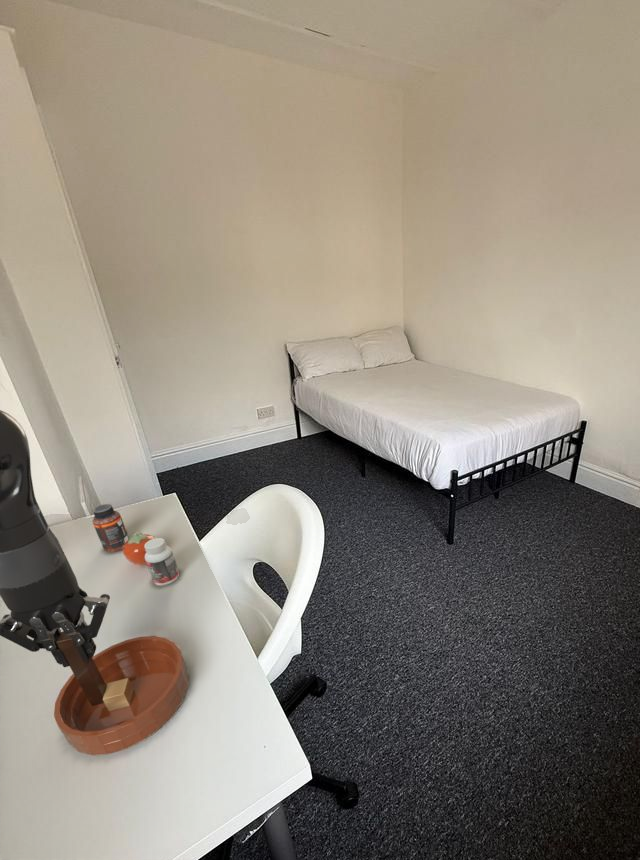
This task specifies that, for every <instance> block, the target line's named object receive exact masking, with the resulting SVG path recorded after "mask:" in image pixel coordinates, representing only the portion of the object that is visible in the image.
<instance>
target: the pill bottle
mask: <svg viewBox="0 0 640 860" xmlns="http://www.w3.org/2000/svg"><path fill="white" fill-rule="evenodd" d="M144 547H145V551H146V554H145V561H146V563H147V564H146V565H147V568H148V571H149V573H150V576H151V579H152V581H153V583H154V584H155V585H156V586H168V585H169V584H172V583H173V582H175V581H176V580H177V579H178V578H179V577H180V571H179V568H178V565H177V561H176V559H175V556H174V553H173V549H172V548H171V547H170V546H169V545H167V543H166V541H165V539H164V538H162V537H155V539H152V540H149V541H148V542H146V544H145V545H144Z"/></svg>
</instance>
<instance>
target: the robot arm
mask: <svg viewBox="0 0 640 860" xmlns="http://www.w3.org/2000/svg"><path fill="white" fill-rule="evenodd" d="M30 451H31V450H30V445H29V439H28V436H27V434H26V432H25V429H24V428H23V427H22V425H21V423H19V421H18V420H17V419H16V418H15V417H14V416H12V415H11V414H9V413H8V412H6V411H4V410H1V409H0V598H1V599H2V602H3V603H4V604H5V606H6V608H7V609H8V610H9V611H10V614H5V615H3V617H2V618H1V619H0V637H2V638H4V639H6V640H8V641H11V642H12V643H14V644H16V645H18V646H20V647H22V648H24V649H26V650H28V651H29V652H32V653H37V652H38V651H40V650H42V649H43V650H45V651H47V652H50V653H51V655H52V656H53V658H54V660H55V662H56V664H58V665H60V666H61V665H62V667H63V668H68V667H70V665H69V663H68V662H67V660H66V658H65V656H64V654H63V653H62V651H61V649H60V648H59V646H58V645H57V643H56V642H57V640H58V638H59V636H60V634H61V632H63V631H64V633H65V634H66V635H67V636H68V635H70V637H71V638H72V640H73V641H74V643H75V644H76V645H75V647H76V649H77V650H78V652H79V654H80V656H81V658H82V660H83V662H89V661H91V659H92V657H94V656H95V654H96V651H97V645H96V642H95V641H94V639H95V638H97V637H98V635H99V631H100V629H101V626H102V624H103V620H104V618H105V615H106V611H107V608H108V605H109V601H110V599H111V597H110V595H109V594H108V593H103V594H101V595H100V596H99V597H97V596H89V595H88V593H87V592H86V591H85V590H83V589H82V588H81V587H80V586H79V582H78V579H77V576H76V574H75V573H74V570H73V568H72V566H71V564H70V562H69V560H68V558H67V556H66V554H65V552H64V550H63V548H62V545H61V543H60V541H59V539H58V538H57V536H56V534H55V533H54V532H53V530H51V527H50V526H49V525H48V522H47V520H46V518H45V516H44V513H43V512H42V510H41V508H40V505H39V503H38V501H37V498H36V495H35V489H34V484H33V479H32V478H33V477H32V467H31V465H32V463H31V452H30ZM84 607H87V610H88V613H89V615H90V616H92V617H91V620H90V623H89V624H88V623H87V622H86V621H85V615H84V612H83V609H84ZM61 630H62V631H61Z"/></svg>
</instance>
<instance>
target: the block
mask: <svg viewBox="0 0 640 860" xmlns="http://www.w3.org/2000/svg"><path fill="white" fill-rule="evenodd" d="M133 691H134V689H133V687H132V685H131V683H130V681H129V678H126V679H122V680H118V681H114V682H110V683H108V684H107V687H106V690H105V693H104V696H103V701H104V703H105V705H106V707H107V709H108V711H113V710H117V709H120V708H124V707H128V706H130V704H131V700H132V695H133Z"/></svg>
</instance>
